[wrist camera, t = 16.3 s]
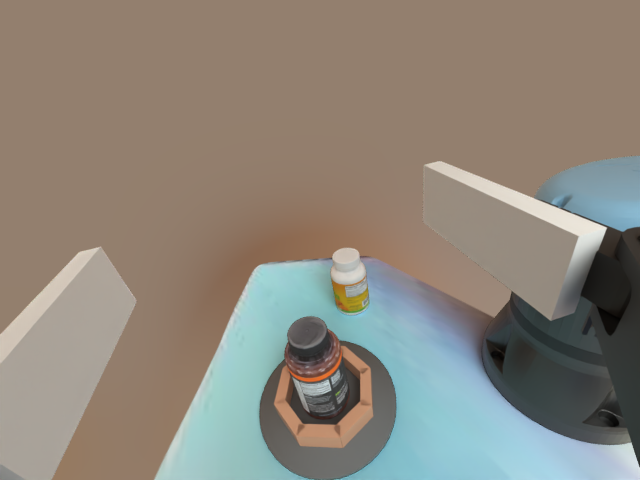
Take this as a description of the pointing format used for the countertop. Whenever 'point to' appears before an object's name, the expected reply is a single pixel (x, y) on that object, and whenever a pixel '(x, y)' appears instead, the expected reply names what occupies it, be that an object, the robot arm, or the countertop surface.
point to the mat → (326, 460)
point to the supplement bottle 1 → (317, 368)
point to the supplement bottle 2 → (349, 282)
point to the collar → (319, 432)
